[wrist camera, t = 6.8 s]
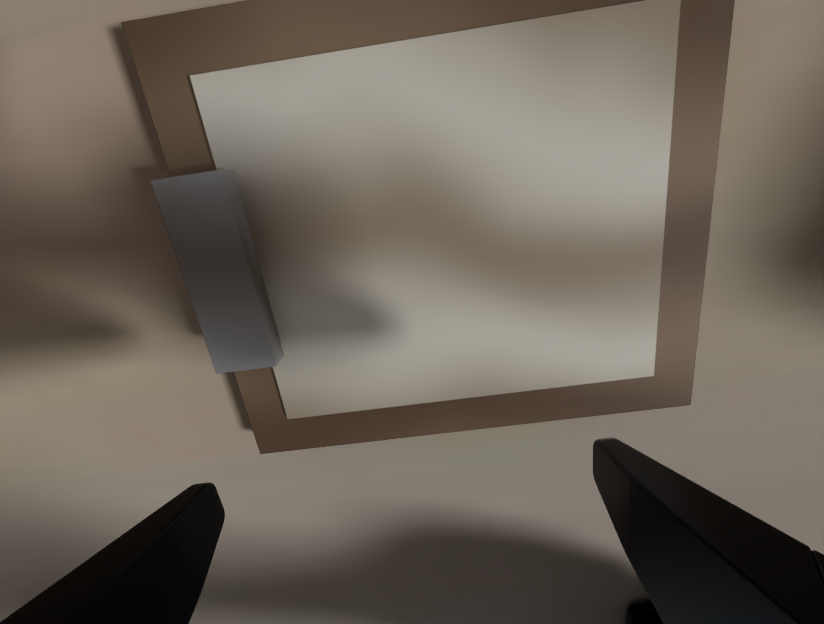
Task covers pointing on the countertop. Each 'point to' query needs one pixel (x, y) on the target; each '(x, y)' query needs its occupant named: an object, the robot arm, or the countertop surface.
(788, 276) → the countertop surface
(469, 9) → the clipboard
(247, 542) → the countertop surface
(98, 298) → the countertop surface
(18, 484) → the countertop surface
